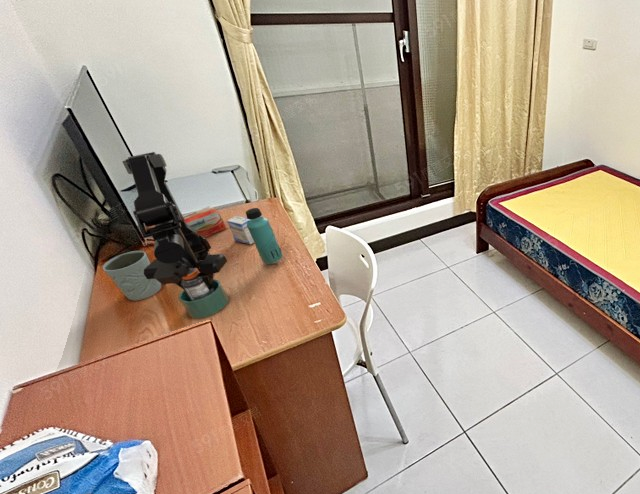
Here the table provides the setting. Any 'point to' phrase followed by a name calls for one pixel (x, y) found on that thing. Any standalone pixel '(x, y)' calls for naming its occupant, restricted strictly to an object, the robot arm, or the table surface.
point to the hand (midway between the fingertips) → (199, 289)
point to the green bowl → (205, 302)
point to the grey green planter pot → (132, 275)
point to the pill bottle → (195, 285)
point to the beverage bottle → (263, 236)
